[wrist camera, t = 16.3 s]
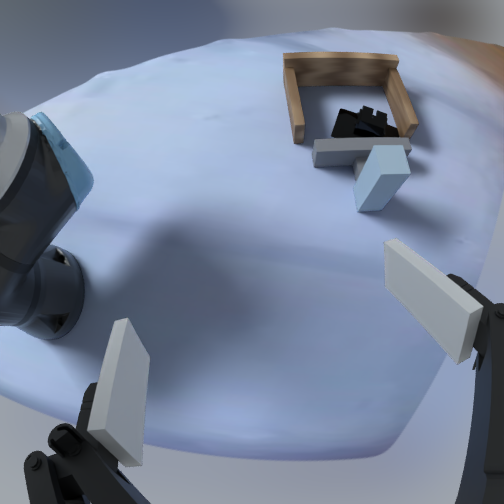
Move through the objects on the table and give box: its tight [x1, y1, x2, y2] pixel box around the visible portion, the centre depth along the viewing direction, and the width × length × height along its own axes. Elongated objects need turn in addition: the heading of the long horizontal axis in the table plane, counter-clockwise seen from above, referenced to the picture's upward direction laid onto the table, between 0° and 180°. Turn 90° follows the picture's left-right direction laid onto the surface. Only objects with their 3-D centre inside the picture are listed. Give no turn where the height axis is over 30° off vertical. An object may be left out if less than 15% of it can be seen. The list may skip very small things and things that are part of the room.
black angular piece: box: [331, 106, 400, 138], centre depth 44 cm, size 13×8×5 cm, turn 69°
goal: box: [283, 52, 419, 144], centre depth 44 cm, size 19×13×7 cm
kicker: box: [312, 137, 412, 212], centre depth 38 cm, size 14×9×12 cm, turn 94°
